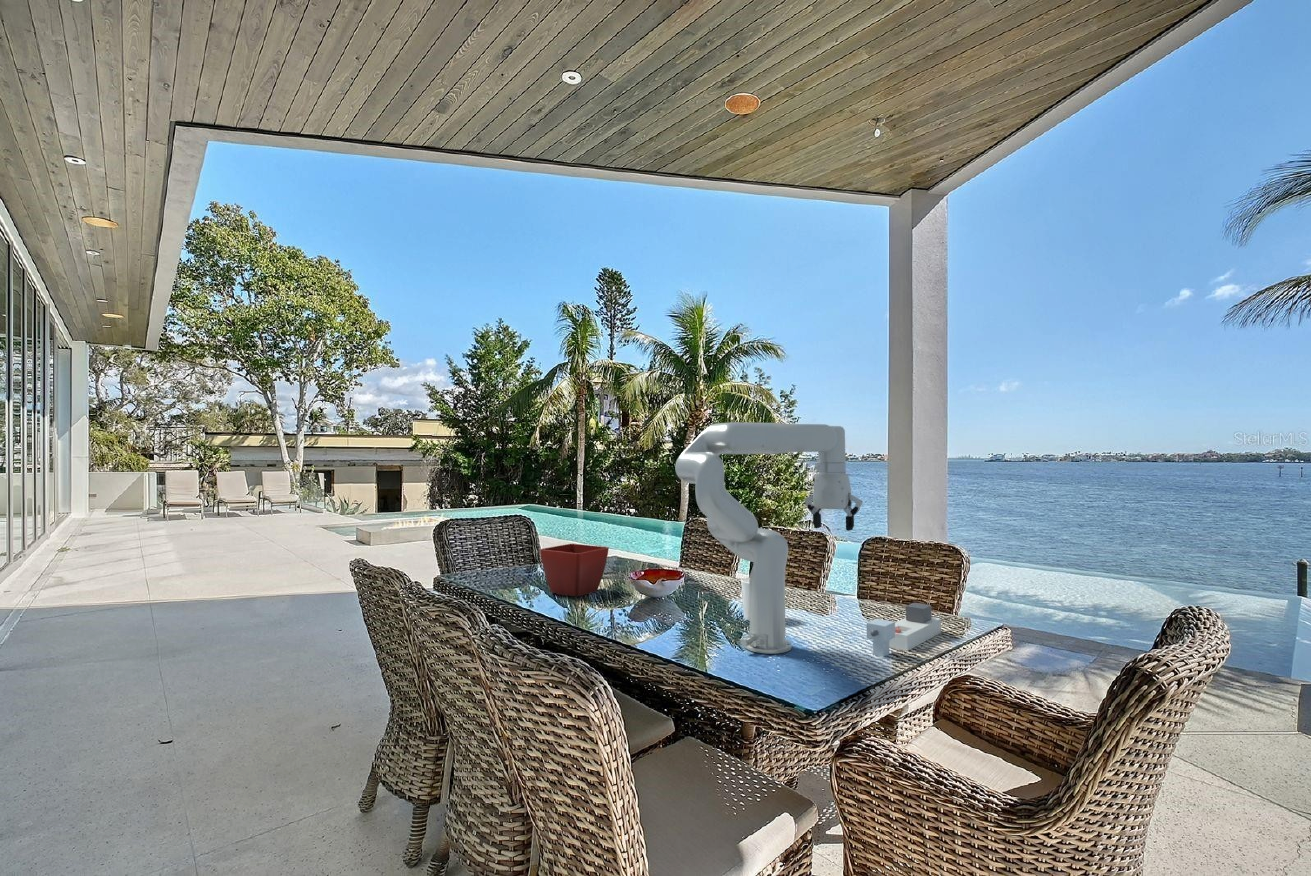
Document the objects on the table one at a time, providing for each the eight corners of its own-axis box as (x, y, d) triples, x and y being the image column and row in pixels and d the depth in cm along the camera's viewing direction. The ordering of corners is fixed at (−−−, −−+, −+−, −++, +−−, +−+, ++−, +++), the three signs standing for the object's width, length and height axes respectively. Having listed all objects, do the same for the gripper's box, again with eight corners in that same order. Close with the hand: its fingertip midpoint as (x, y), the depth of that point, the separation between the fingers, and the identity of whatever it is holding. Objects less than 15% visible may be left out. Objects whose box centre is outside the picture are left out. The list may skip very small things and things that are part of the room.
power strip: (907, 651, 173) (907, 632, 173) (878, 645, 178) (878, 627, 178) (941, 632, 190) (940, 615, 190) (913, 627, 196) (913, 611, 196)
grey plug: (882, 660, 165) (882, 627, 165) (864, 656, 169) (863, 624, 169) (895, 653, 171) (895, 621, 171) (877, 649, 174) (876, 618, 174)
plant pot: (610, 590, 251) (610, 546, 251) (578, 600, 235) (578, 553, 235) (571, 585, 261) (571, 543, 261) (538, 594, 245) (538, 549, 245)
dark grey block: (923, 638, 185) (923, 608, 185) (906, 634, 188) (905, 606, 188) (933, 632, 190) (933, 604, 190) (916, 629, 194) (916, 601, 194)
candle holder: (777, 616, 210) (776, 579, 210) (765, 623, 201) (765, 584, 201) (748, 613, 215) (748, 576, 215) (736, 619, 206) (736, 581, 206)
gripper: (798, 469, 190) (799, 528, 190) (855, 469, 179) (857, 532, 179) (810, 468, 196) (811, 525, 196) (866, 468, 185) (867, 529, 185)
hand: (833, 528), depth 187 cm, fingers open, 9 cm apart
